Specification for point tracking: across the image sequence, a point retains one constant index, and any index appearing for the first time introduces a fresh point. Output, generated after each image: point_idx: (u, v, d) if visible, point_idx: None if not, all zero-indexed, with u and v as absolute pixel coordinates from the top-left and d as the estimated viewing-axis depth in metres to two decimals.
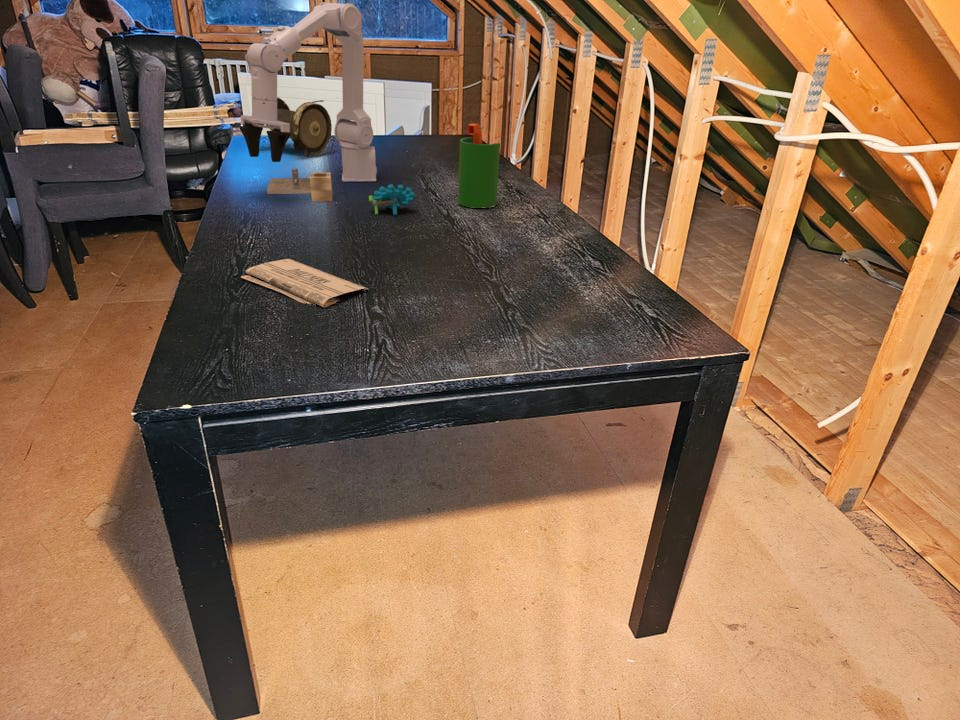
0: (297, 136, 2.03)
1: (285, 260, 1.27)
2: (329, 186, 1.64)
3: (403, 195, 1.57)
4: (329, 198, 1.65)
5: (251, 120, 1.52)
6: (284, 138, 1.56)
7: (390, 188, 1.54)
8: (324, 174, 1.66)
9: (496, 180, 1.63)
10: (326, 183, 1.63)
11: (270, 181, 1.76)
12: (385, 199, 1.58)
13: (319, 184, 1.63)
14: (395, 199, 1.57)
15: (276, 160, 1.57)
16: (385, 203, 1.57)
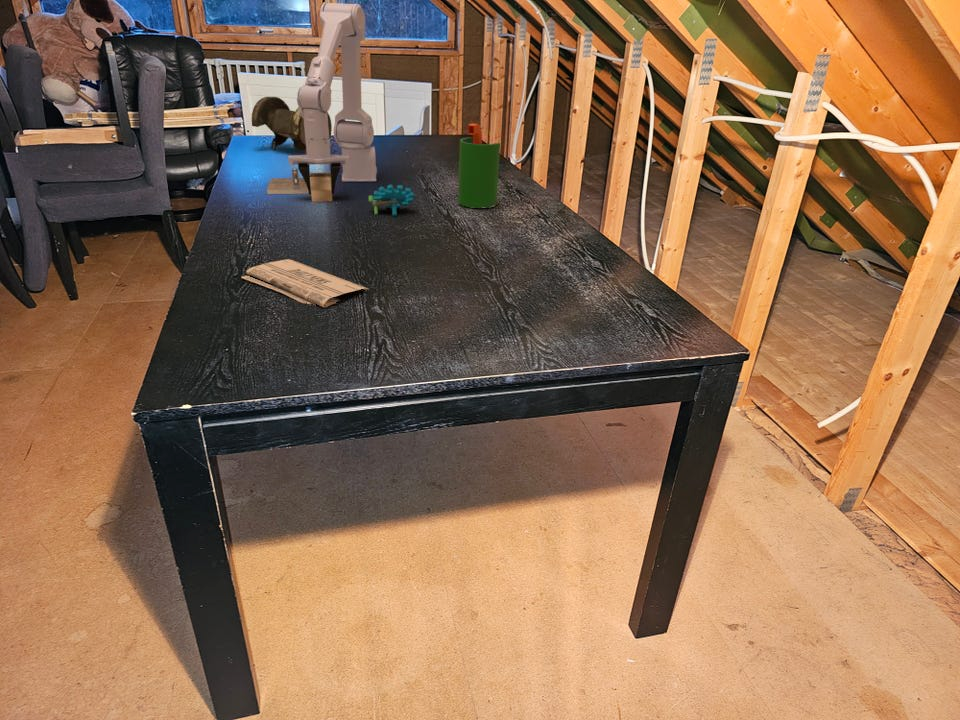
0: (297, 136, 2.03)
1: (285, 261, 1.27)
2: (329, 186, 1.64)
3: (403, 195, 1.57)
4: (329, 198, 1.65)
5: (318, 161, 1.59)
6: None
7: (389, 188, 1.54)
8: (324, 174, 1.66)
9: (496, 180, 1.63)
10: (326, 183, 1.63)
11: (270, 181, 1.76)
12: (385, 199, 1.58)
13: (319, 184, 1.63)
14: (395, 199, 1.57)
15: (334, 191, 1.67)
16: (385, 203, 1.57)
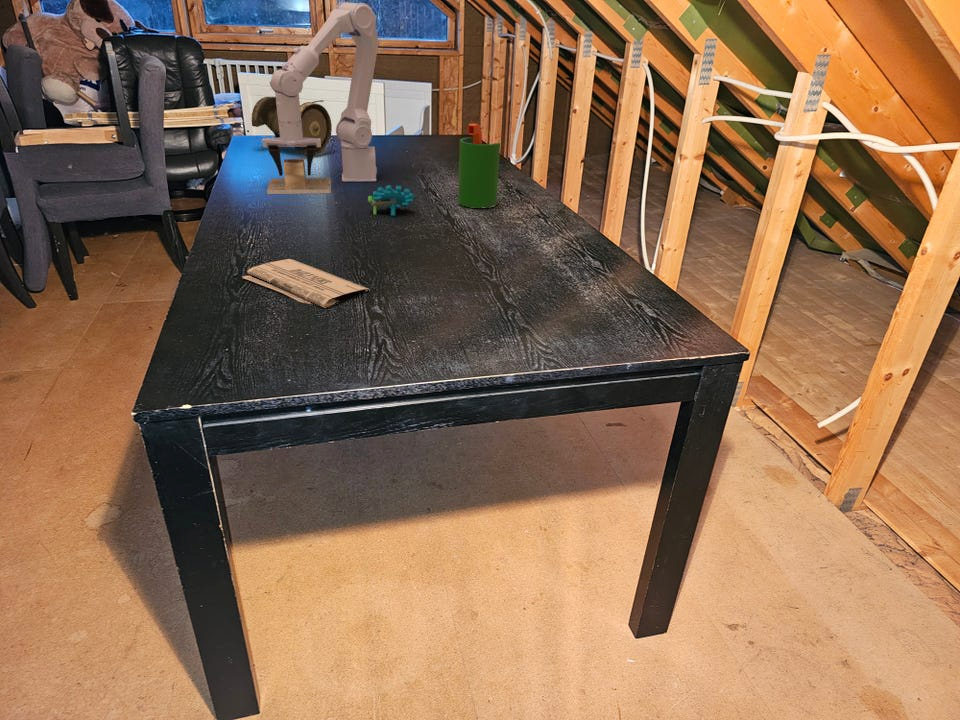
0: None
1: (286, 260, 1.27)
2: (302, 171, 1.71)
3: (402, 196, 1.56)
4: (302, 183, 1.73)
5: (290, 143, 1.66)
6: None
7: (388, 189, 1.53)
8: (298, 160, 1.73)
9: (496, 180, 1.63)
10: (299, 169, 1.71)
11: (270, 181, 1.76)
12: (384, 200, 1.58)
13: (292, 169, 1.70)
14: (394, 200, 1.57)
15: (310, 173, 1.74)
16: (384, 204, 1.57)
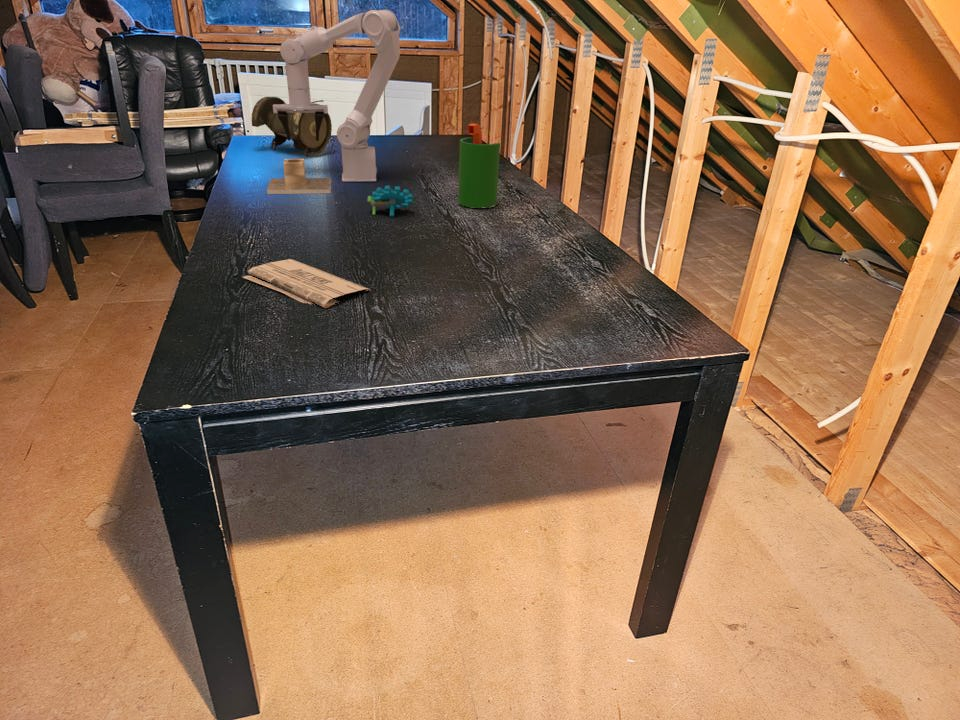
0: (297, 136, 2.03)
1: (287, 261, 1.27)
2: (302, 171, 1.71)
3: (401, 197, 1.56)
4: (302, 183, 1.73)
5: (299, 108, 1.76)
6: None
7: (387, 189, 1.53)
8: (298, 160, 1.73)
9: (496, 180, 1.63)
10: (299, 169, 1.71)
11: (270, 181, 1.76)
12: (384, 200, 1.58)
13: (292, 169, 1.70)
14: (393, 200, 1.56)
15: (318, 138, 1.84)
16: (383, 204, 1.57)
